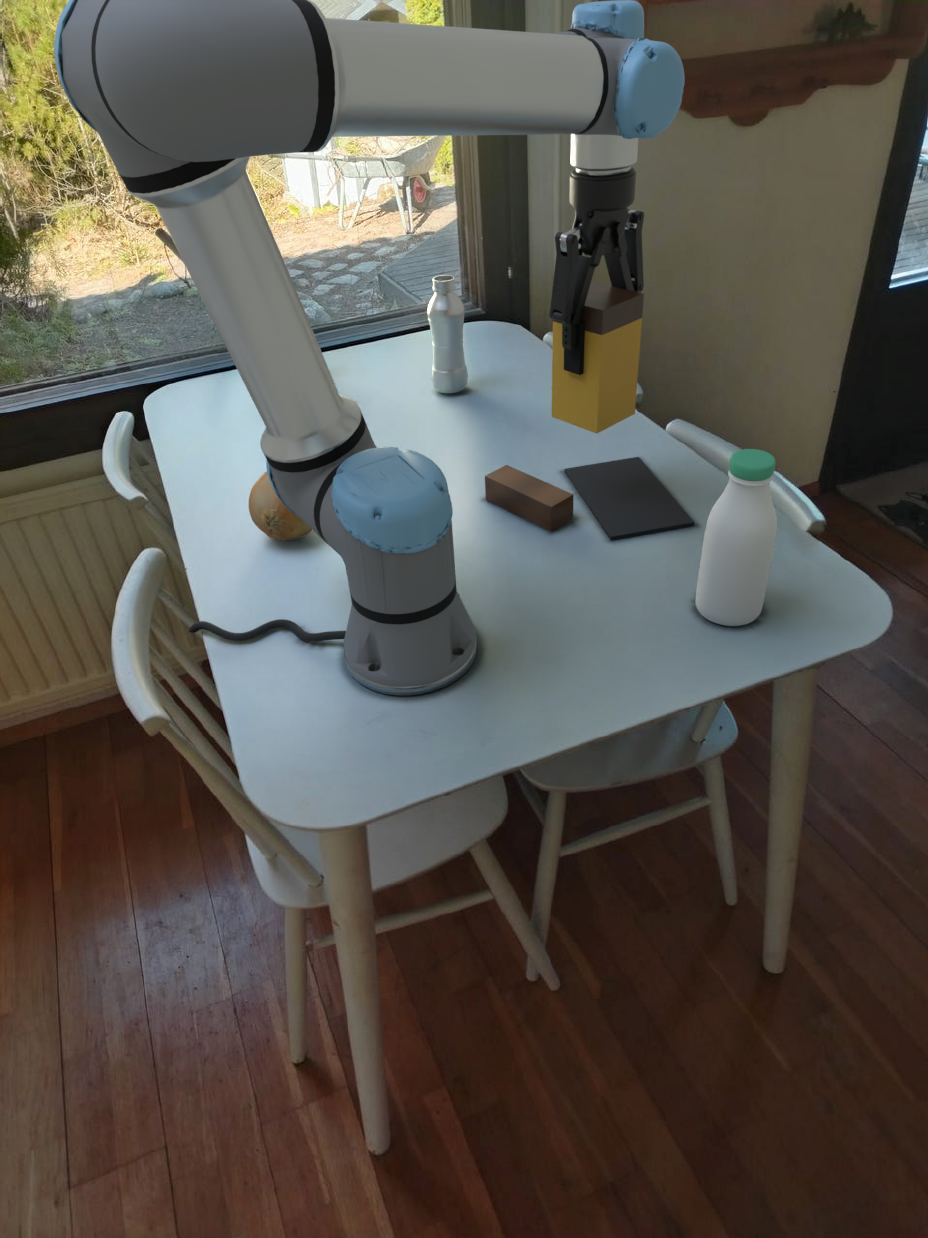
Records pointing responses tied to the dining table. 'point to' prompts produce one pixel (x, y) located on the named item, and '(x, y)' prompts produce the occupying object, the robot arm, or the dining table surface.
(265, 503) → the onion
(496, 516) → the dining table surface
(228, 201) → the robot arm
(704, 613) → the milk bottle
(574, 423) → the tea tin
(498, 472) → the walnut block
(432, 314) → the plastic bottle
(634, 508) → the mat
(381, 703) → the dining table surface
